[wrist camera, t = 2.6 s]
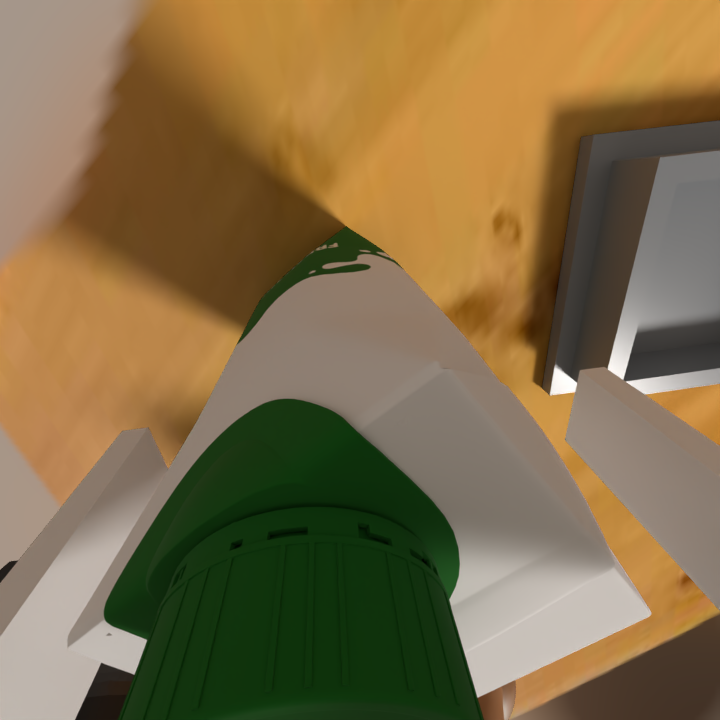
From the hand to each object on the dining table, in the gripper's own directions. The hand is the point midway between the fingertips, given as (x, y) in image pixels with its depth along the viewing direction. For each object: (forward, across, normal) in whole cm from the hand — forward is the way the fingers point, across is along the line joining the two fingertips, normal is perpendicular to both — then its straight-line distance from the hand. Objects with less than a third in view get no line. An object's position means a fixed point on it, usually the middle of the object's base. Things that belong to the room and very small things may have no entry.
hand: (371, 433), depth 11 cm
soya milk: (+13, 0, 0) cm, 13 cm away
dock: (+13, -22, 0) cm, 25 cm away
